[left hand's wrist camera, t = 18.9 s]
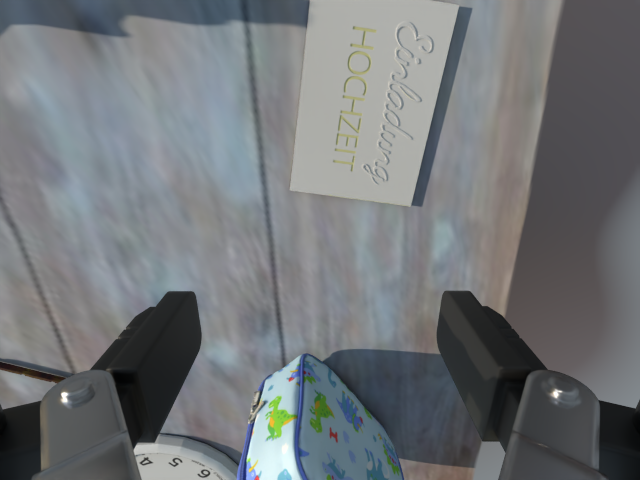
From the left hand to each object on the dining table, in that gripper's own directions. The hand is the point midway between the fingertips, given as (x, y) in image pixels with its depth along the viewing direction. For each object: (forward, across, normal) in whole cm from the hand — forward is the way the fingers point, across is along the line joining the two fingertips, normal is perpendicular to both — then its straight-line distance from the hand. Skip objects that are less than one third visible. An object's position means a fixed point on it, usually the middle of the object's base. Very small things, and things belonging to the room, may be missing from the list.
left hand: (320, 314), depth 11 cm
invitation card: (+32, +5, +6) cm, 33 cm away
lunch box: (+32, +1, -38) cm, 50 cm away
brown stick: (+32, -43, -32) cm, 62 cm away
